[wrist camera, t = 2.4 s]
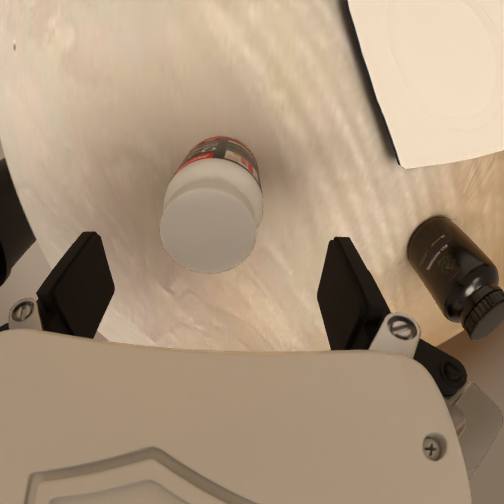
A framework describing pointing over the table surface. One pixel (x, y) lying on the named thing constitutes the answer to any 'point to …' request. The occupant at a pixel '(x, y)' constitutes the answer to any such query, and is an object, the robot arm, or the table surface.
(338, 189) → the table surface
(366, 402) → the robot arm
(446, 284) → the supplement bottle
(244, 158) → the pill bottle
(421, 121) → the plate
